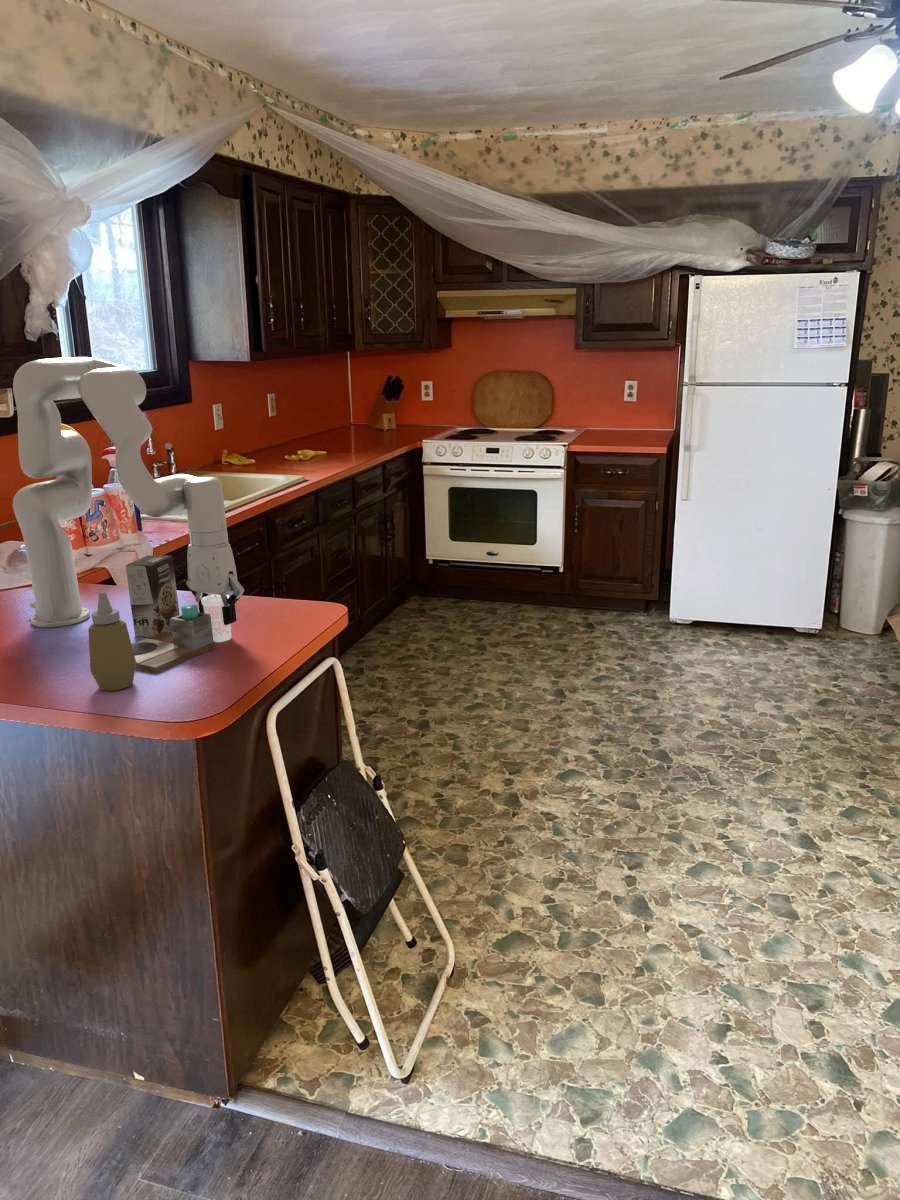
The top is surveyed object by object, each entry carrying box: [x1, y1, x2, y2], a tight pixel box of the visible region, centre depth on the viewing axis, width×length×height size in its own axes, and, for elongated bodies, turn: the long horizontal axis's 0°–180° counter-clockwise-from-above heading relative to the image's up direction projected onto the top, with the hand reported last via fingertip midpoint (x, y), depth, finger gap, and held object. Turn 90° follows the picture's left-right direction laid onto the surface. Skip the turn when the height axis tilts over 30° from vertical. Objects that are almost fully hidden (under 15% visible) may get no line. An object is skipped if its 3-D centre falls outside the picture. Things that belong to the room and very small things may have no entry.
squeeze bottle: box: [87, 591, 137, 692], centre depth 164 cm, size 8×8×18 cm
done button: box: [180, 604, 199, 620], centre depth 182 cm, size 3×3×3 cm
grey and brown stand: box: [131, 611, 217, 674], centre depth 181 cm, size 15×16×7 cm
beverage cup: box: [201, 594, 232, 643], centre depth 188 cm, size 6×6×14 cm
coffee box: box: [125, 554, 181, 638], centre depth 194 cm, size 9×6×16 cm
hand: (218, 620), depth 189 cm, fingers closed on beverage cup, 6 cm apart
